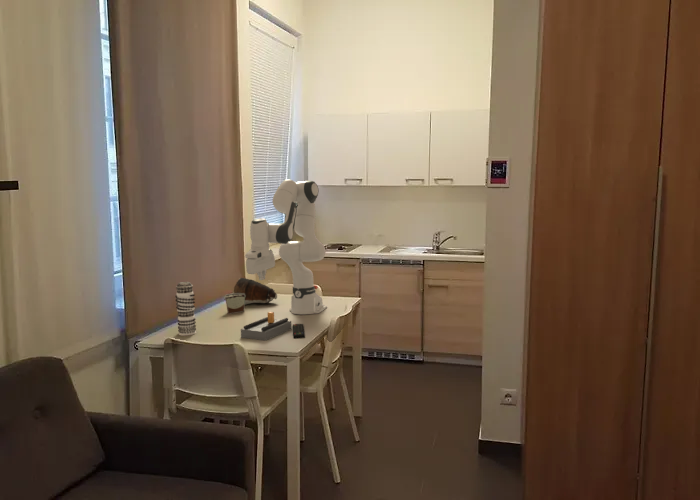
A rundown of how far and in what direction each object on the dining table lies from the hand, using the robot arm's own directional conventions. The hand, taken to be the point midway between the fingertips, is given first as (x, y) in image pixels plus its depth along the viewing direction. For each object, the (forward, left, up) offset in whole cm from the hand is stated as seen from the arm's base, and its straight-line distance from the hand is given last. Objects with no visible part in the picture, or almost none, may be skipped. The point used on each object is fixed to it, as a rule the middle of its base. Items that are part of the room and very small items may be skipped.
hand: (262, 279), depth 299 cm
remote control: (0, +20, -25) cm, 32 cm away
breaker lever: (+4, +7, -20) cm, 22 cm away
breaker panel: (+9, +7, -24) cm, 27 cm away
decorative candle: (+22, -30, -25) cm, 45 cm away
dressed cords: (+9, +7, -20) cm, 23 cm away
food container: (-23, -37, -25) cm, 50 cm away
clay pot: (-45, -37, -25) cm, 63 cm away
